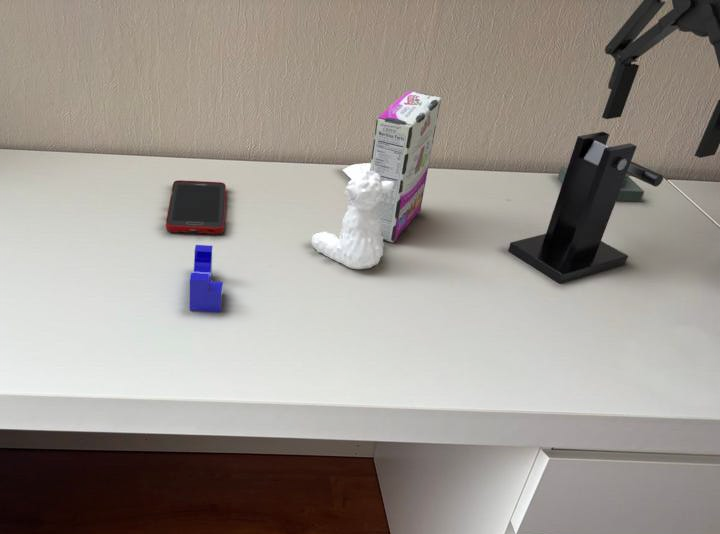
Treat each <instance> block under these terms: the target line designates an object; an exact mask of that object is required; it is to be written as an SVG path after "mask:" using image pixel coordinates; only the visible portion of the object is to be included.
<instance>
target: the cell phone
mask: <svg viewBox="0 0 720 534" xmlns="http://www.w3.org/2000/svg"><path fill="white" fill-rule="evenodd" d="M226 192H227V185H226V183H224V182H221V181H204V180H203V181H201V180H185V179H183V180H181V179H180V180H174V181H173V183H172V187H171V192H170V197H169V203H168V209H167V214H166V220H165V229H166V231H169V232H173V233H198V234H222V233H223V232H224V230H225V219H226V217H225V216H226V215H225V214H226Z"/></svg>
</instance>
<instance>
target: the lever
mask: <svg viewBox="0 0 720 534" xmlns="http://www.w3.org/2000/svg"><path fill="white" fill-rule="evenodd" d="M608 147H610V146H609V145H607V144H606V145H604V144H602V143H600V142H598V141H594V142H593V144H592V145H591V147H590V149H589V150H588V152H587V154H586V155H585V157H584V160H586V161H589V162H591V163H593V164H595V165H597V166H598V165H599V163H600V160H601V157H602V154H603V151H604V148H608ZM626 174H629V176H631V177H633V178H636V179H637V180H640V181H641V182H643V183H645V184H648V185H650V186H652V187H654V188H655V187H659V186H660V185H661V184H662V182H663V181H664V175H662V174H661V173H658V172H656V171H654V170H652V169H650V168H647V167H645V166H643V165H641V164H638V163H636V162H634V161H633V160H631V163H630V166H629V168H628V171H627V173H626Z"/></svg>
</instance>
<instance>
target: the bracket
mask: <svg viewBox="0 0 720 534" xmlns="http://www.w3.org/2000/svg"><path fill="white" fill-rule="evenodd" d="M609 137H610V134H609V133H608V132H605V131H599V132H594V133H588V134H583V135H578V136H577V138H576V141H575V143H574V147H573V150H572V153H571V156H570V159H569V161H568V165H567V167H566V168H567V171H566V174H565V177H564V180H563V183H562V182H561V183H562V184H561V187H560V189H559V192H558V196H557V199H556V202H555V205H554V208H553V211H552V214H551V218H550V220H549V223H548V226H547V229H546V233H543V234H539V235H536V236H530V237H527V238H523V239H519V240H514V241H511V242H510V243H509V246H508V249H507V250H508V252H509V253H511V254H512V255H514V256H515V257H517V258H518V259H520V260H522V261H523V262H525V263H526V264H528V265H529V266H531V267H533V268H534V269H536V270H538V271H539V272H540V273H542V274H544V275H545V276H547V277H548V278H550V279H552V280H553V281H555V282H556V283H558V284H563V283H566V282H569V281H573V280H577V279H581V278H583V277H586V276H590V275H593V274H597V273H600V272H604V271H607V270H610V269H614V268H617V267H621V266H625V265H626V263H627V260H628V258H629V255H628V254H625V253H624V252H622V251H620V250H618V249H616V248H615V247H613V246H611V245H609V244H608V243H606V242H604V241H602V239H603V237H604V234H605V232H606V229H607V226H608V224H609V221H610V218H611V216H612V213H613V210H614V207H615V205H616V203H617V201H616V200H617V197H618V195H619V192H620V189H621V187H622V184H623V181H624V179H625V176H626V173H627V171H628V168H629V166H630V163H631V161H633V157H634V155H635V152H636V150H637V145H635V144H633V143H631V142H629V143H628V142H627V143H623V144H619V145H613V146H609V147H608V148H604V151H603V154H602V157H601V160H600V163H599V165H598V166H597V165H595V164H593V163H591V162H589V161H586V160H584V157H585V155H586V154H587V152H588V150H589V149H590V147H591V145H592V144H593V142H594V141H598V142H600V143H602V144H604V145H607V144H608V143H607V142H608V140H609Z"/></svg>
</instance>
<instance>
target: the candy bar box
mask: <svg viewBox="0 0 720 534" xmlns="http://www.w3.org/2000/svg"><path fill="white" fill-rule="evenodd" d="M441 102H442V97H441V96H435V95H430V94H427V93H423V92H420V93H419V92H418V91H411V90H410V91H409V90H408V91H406V92H404V93H403V95H401V96H400V97H399V98H397V100H395V101H394V102H393V103H392V104H391V105H390V106H388V107H387V108H386V109H385V110H384V111H382V112H381V113H380V114H379V115H377V117H376V122H375V129H374V136H373V137H374V138H373V143H372V144H373V145H372V151H371V159H370V163H371V166H370V171H371V170H372V171H375V172H376V173H378V174H379V175H381V181H393V183H394V185H393V188H392V190H391V191H390V192H387V193H383V196H382V200H381V201H380V202H379V203H378V205H376V207H377V209H378V212H379V213H380V219H381V229H380V230H381V232H382V233H381V236H382V237H383V242H388V243H391V244H393V243H395V241H396V240H397V239H398V238H399V236H401V234H402V233H403V232H404V231H405V229H406V228H407V227H408V226H409V225H410V224H411V222H413V220H414V219H415V218H416V216H417V215H418V214H419V213H420V212H421V210H422V204H423V198H424V193H425V187H426V181H427V177H428V171H429V166H430V161H431V155H432V150H433V144H434V139H435V132H436V129H437V122H438V118H439V111H440V107H441Z"/></svg>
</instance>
